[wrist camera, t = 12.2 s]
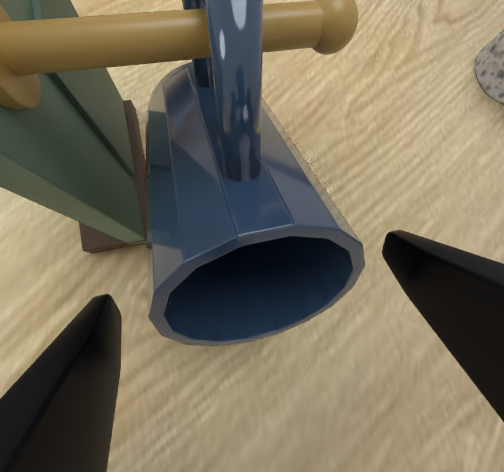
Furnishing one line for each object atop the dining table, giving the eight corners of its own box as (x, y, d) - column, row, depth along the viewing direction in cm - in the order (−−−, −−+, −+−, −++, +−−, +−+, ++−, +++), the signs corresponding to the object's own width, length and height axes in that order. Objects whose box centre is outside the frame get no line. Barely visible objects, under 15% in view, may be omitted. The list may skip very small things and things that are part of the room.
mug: (262, 165, 20) (336, 318, 13) (164, 182, 19) (179, 360, 11) (267, -72, 11) (542, -54, 4) (83, -67, 10) (-110, -25, 2)
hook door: (276, 217, 20) (461, 2, 5) (91, 253, 18) (-625, 84, 3) (247, 96, 21) (315, -366, 6) (72, 117, 19) (-460, -485, 4)
